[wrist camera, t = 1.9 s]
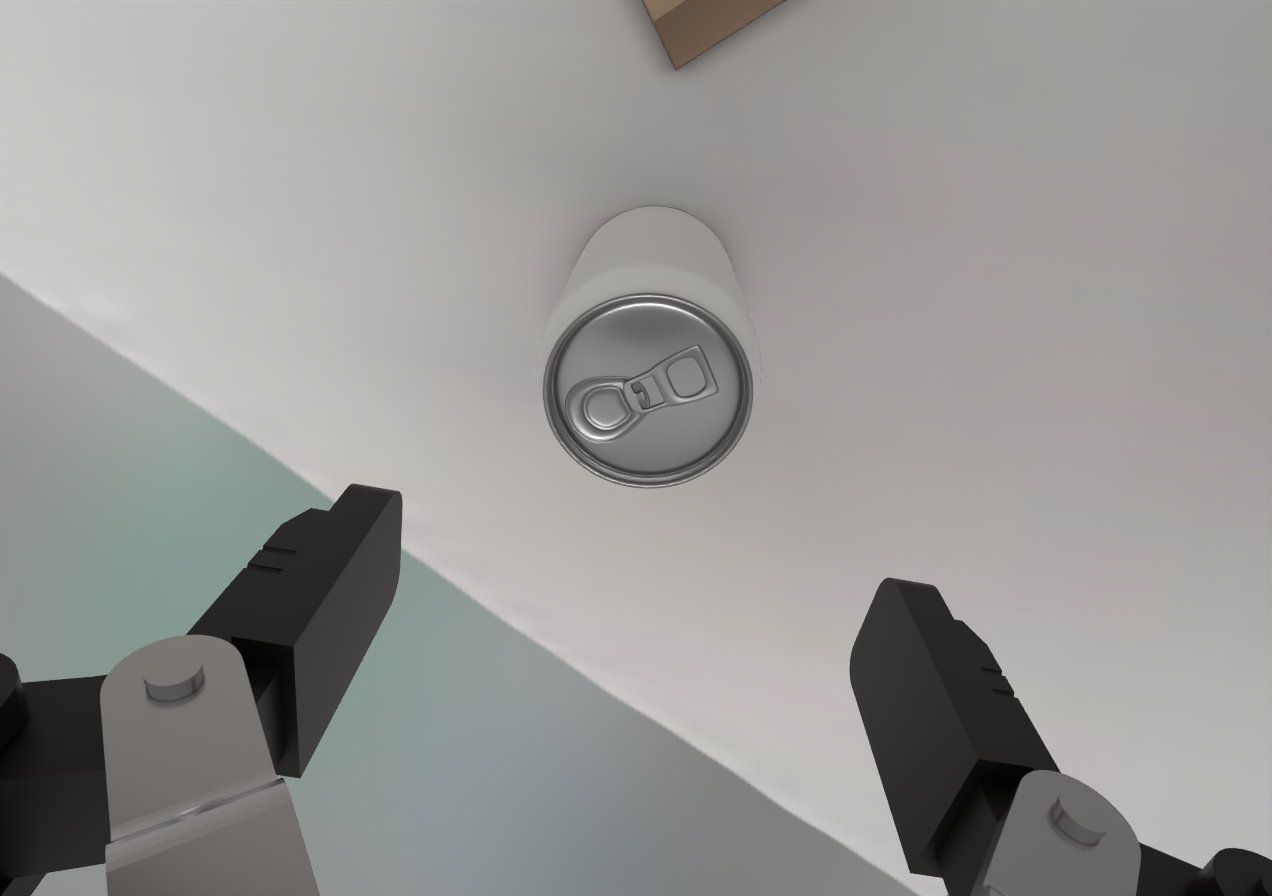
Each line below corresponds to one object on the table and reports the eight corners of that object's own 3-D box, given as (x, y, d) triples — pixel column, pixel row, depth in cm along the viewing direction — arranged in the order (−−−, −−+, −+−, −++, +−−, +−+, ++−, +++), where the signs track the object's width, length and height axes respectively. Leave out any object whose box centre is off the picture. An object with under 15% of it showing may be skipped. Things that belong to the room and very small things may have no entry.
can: (549, 244, 29) (481, 337, 18) (697, 175, 27) (716, 232, 17) (616, 380, 32) (591, 531, 21) (754, 323, 30) (803, 454, 19)
